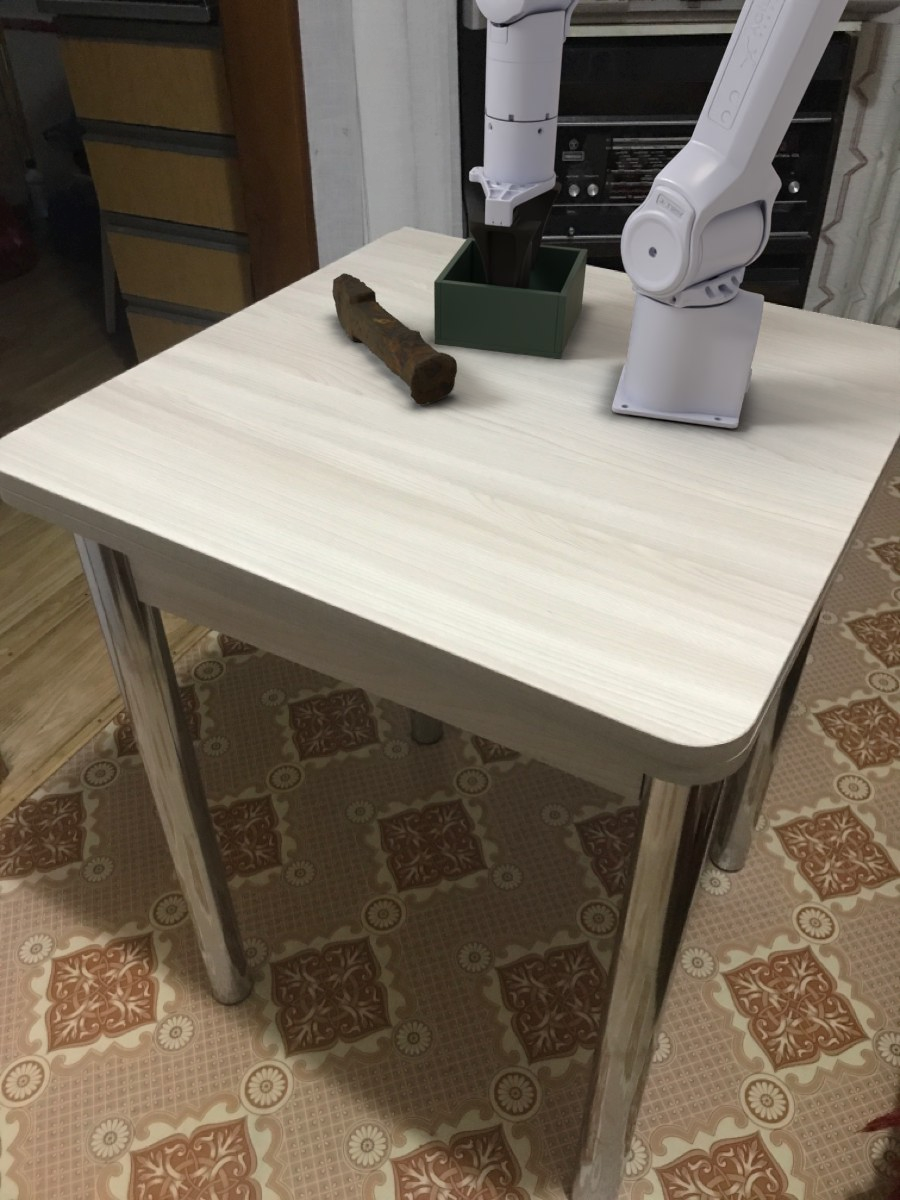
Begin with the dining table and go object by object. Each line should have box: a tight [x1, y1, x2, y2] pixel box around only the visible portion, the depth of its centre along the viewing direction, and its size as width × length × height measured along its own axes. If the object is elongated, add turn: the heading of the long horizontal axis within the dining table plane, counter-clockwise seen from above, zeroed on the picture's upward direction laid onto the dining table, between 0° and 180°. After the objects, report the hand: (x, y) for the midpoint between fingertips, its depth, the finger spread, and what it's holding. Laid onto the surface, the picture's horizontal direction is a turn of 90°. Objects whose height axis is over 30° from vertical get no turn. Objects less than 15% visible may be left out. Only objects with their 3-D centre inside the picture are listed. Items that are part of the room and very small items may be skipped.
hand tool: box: [331, 272, 458, 406], centre depth 76 cm, size 19×4×5 cm, turn 27°
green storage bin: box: [433, 237, 589, 360], centre depth 81 cm, size 11×11×6 cm
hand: (513, 284), depth 80 cm, fingers open, 7 cm apart
